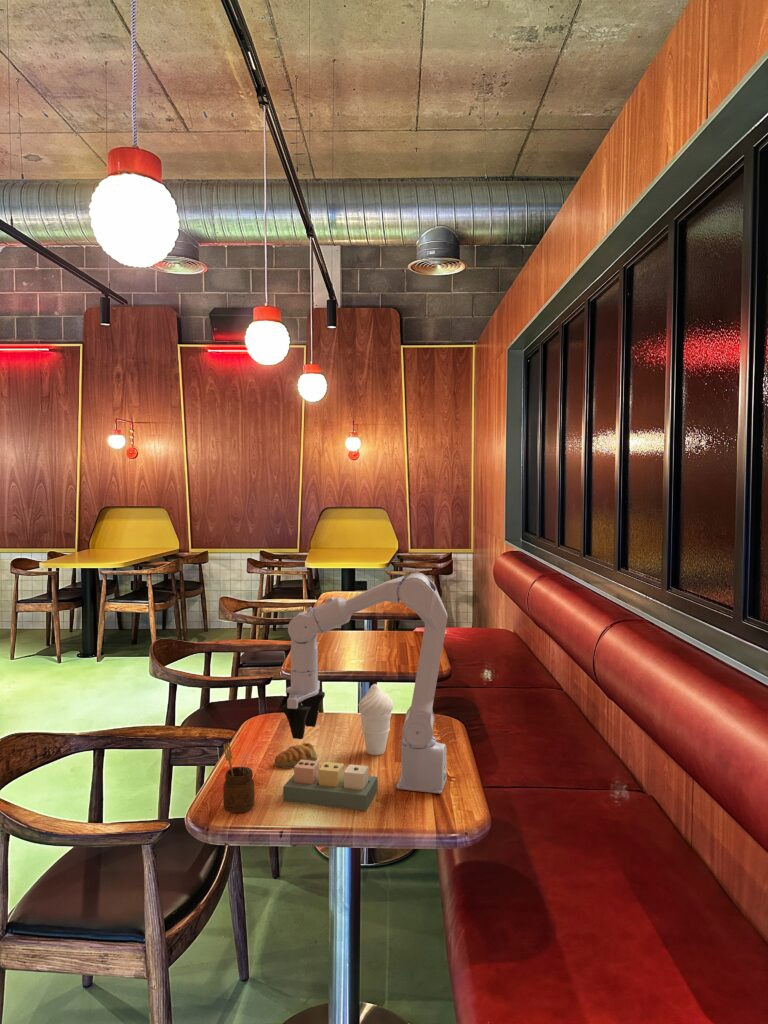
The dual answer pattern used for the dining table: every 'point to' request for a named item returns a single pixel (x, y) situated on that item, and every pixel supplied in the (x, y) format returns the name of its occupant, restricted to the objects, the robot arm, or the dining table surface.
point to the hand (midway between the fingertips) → (304, 732)
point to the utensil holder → (238, 786)
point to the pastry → (295, 755)
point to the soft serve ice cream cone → (375, 719)
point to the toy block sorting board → (330, 794)
